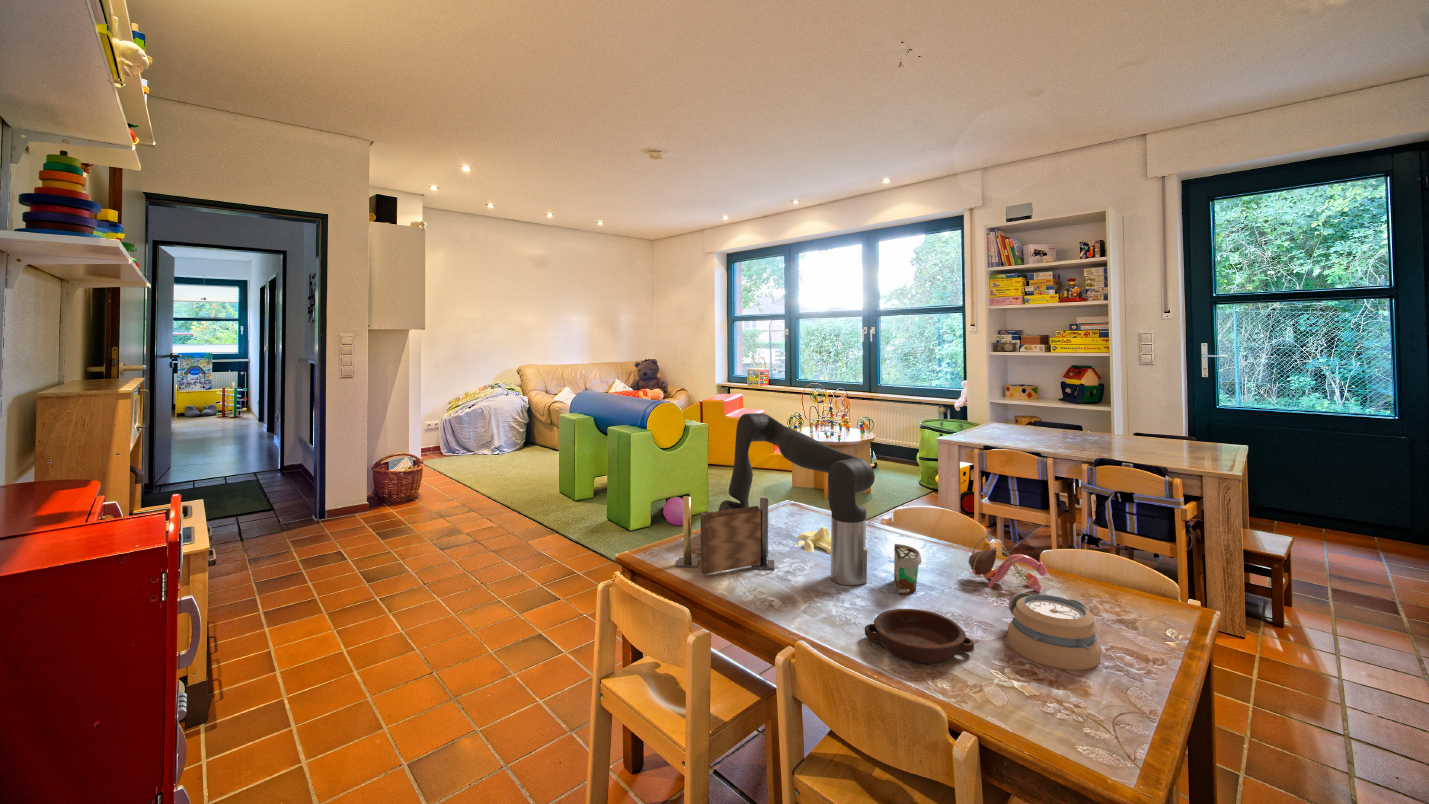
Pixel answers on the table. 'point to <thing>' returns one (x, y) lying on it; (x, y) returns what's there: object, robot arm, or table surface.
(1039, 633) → the alarm clock
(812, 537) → the cloth
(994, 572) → the anatomy model
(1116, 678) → the table surface
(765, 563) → the gate frame
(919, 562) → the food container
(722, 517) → the gate panel
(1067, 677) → the table surface
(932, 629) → the dish
